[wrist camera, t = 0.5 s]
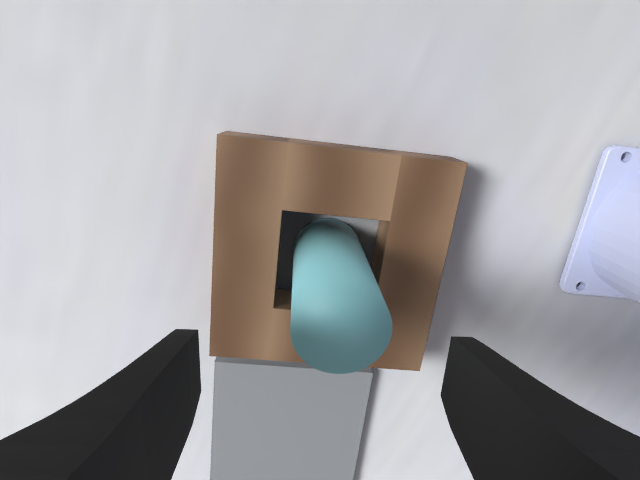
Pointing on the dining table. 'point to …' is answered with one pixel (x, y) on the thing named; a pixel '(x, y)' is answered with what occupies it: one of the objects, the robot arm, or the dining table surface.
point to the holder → (330, 199)
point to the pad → (286, 420)
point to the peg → (336, 301)
